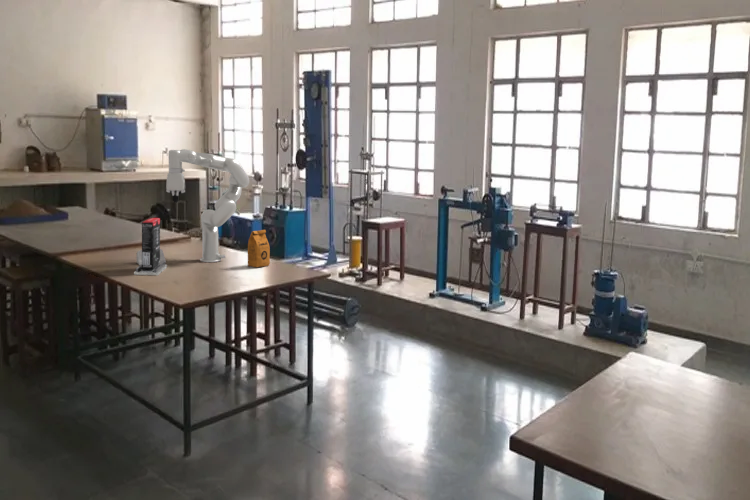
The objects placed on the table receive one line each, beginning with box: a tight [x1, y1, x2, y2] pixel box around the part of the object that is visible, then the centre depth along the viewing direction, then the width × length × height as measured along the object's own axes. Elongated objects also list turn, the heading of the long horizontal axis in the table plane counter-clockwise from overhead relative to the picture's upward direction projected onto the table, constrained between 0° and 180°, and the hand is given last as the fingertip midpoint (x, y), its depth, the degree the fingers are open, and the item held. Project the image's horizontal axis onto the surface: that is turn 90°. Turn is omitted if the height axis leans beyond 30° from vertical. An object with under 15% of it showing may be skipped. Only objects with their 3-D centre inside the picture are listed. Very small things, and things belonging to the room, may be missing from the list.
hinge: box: [136, 248, 167, 266], centre depth 408 cm, size 17×5×10 cm, turn 126°
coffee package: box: [247, 229, 271, 268], centre depth 408 cm, size 10×12×22 cm
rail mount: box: [133, 261, 168, 276], centre depth 386 cm, size 13×22×4 cm, turn 4°
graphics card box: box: [141, 217, 161, 269], centre depth 384 cm, size 17×7×27 cm, turn 5°
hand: (175, 202), depth 401 cm, fingers closed
